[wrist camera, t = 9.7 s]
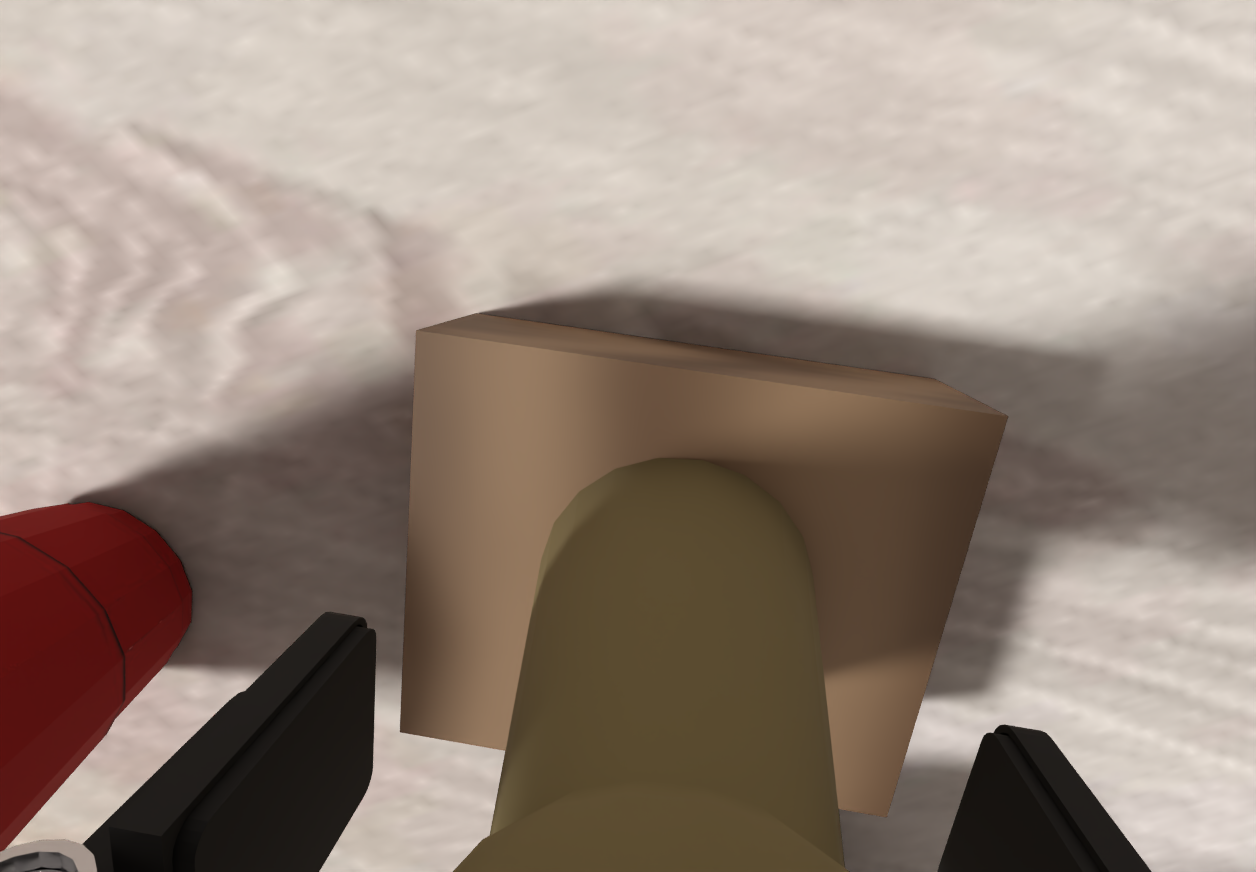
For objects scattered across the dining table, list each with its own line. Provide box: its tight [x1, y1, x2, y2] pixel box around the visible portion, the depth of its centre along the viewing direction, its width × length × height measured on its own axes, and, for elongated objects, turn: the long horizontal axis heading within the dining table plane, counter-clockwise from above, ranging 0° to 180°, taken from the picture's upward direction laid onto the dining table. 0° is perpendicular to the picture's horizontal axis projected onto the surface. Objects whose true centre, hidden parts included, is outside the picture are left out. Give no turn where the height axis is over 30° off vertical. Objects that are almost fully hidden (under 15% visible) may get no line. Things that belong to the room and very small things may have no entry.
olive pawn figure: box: [453, 458, 849, 872], centre depth 9 cm, size 6×6×11 cm
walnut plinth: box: [400, 313, 1008, 817], centre depth 17 cm, size 12×10×4 cm
